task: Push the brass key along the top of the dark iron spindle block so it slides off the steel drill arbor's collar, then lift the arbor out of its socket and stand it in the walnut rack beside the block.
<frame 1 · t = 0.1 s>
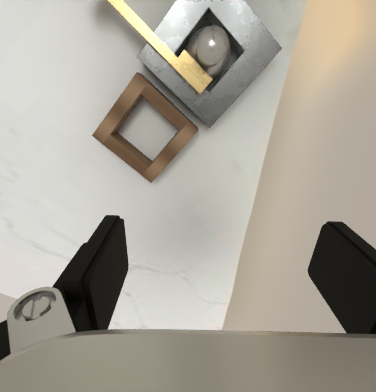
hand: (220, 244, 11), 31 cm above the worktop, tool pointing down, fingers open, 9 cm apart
walnut rack: (148, 129, 39), on the worktop
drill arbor: (209, 51, 30), in the spindle block
brass key: (147, 31, 28), point 6 cm above the worktop, slide at 0.0 cm
spindle block: (206, 57, 34), on the worktop
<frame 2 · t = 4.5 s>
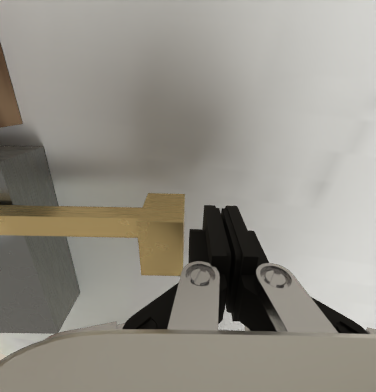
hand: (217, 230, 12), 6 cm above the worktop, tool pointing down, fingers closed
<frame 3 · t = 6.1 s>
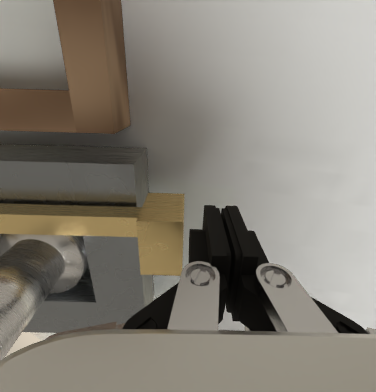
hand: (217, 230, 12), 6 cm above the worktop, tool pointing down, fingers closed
walnut rack: (13, 9, 12), on the worktop
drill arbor: (28, 271, 14), in the spindle block
spindle block: (66, 230, 18), on the worktop
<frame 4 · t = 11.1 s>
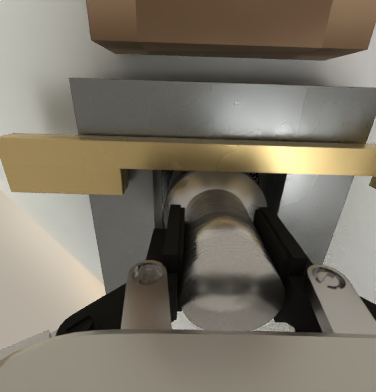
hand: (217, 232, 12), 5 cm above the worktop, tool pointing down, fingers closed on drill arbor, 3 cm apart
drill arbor: (216, 226, 12), in the spindle block, touching gripper
brass key: (224, 164, 10), point 6 cm above the worktop, slide at 7.3 cm
spindle block: (209, 192, 16), on the worktop
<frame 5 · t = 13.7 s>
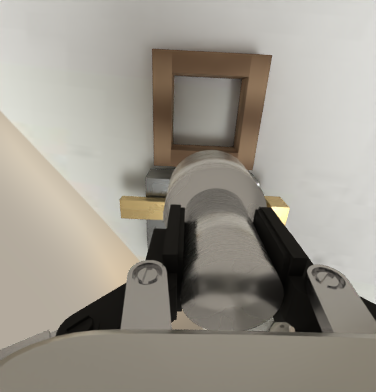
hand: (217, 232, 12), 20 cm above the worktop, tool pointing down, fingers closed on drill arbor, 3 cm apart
walnut rack: (205, 113, 28), on the worktop
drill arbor: (216, 225, 12), point 19 cm above the worktop, touching gripper
brass key: (200, 210, 27), point 6 cm above the worktop, slide at 7.3 cm
spindle block: (197, 215, 34), on the worktop
when the fingers open (7 cm above the worktop, at t = 16.7 s): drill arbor drops 1 cm, resting in walnut rack.
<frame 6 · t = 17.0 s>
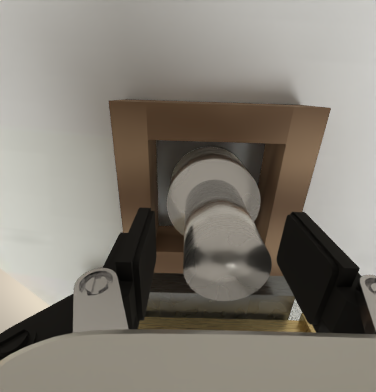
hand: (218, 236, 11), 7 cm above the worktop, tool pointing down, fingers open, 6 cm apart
walnut rack: (207, 184, 18), on the worktop
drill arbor: (214, 213, 13), in the walnut rack
brass key: (203, 343, 17), point 6 cm above the worktop, slide at 7.3 cm
spindle block: (198, 310, 24), on the worktop
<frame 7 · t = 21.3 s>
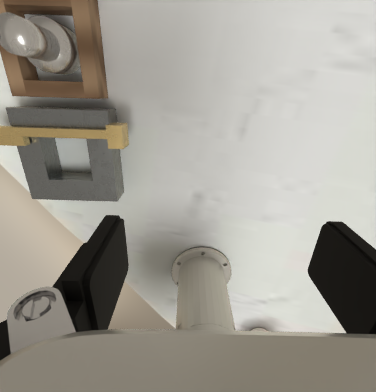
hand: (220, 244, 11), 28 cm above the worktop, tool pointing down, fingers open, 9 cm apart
walnut rack: (60, 50, 31), on the worktop
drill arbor: (40, 43, 27), in the walnut rack
brass key: (53, 134, 31), point 6 cm above the worktop, slide at 7.3 cm
spindle block: (78, 152, 37), on the worktop
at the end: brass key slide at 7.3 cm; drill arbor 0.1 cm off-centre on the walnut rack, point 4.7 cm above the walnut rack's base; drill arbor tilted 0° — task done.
